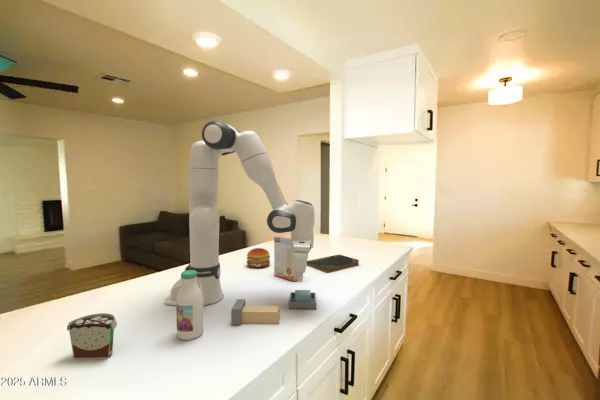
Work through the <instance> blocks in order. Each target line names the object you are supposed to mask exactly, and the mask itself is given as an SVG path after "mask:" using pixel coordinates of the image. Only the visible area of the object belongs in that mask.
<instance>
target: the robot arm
mask: <svg viewBox="0 0 600 400" xmlns="http://www.w3.org/2000/svg"><path fill="white" fill-rule="evenodd" d="M201 138H202V140H198V141H195V142H194V143H193V144H192V145H191V148H190V152H189V153H190V154H189V161H188V162H189V165H188V167H189V170H188V175H189V177H188V183H189V184H188V187H189V188H188V190H189V191H188V194H189V195H188V197H189V198H188V199H189V200H188V201H189V203H188V204H189V207H188V208H189V209H188V210H189V211H188V212H189V213H188V216H189V218H188V222H189V254H190V255H189V260H190V263H188V265H187V266H186V267H185V268H184V270H183V271H187V270H195V271H197V279H196V282H197V285H198V287H199V289H200V291H201V293H202V301H203V307H204V306H207V305H211V304H212V305H213V304H215V303H218V302H219V301H221V300H223V299H224V294H223V290H222V285H221V278H220V277H221V263H220V260H219V259H220V258H219V257H220V256H219V254H220V252H219V250H220V249H219V247H220V245H219V242H220V240H219V239H220V238H219V237H220V214H219V212H218V195H219V159H220V157H221V156H226V155H230V154H233V153H235V154H236V155H237V157H238V159H239V161H240V163H241V166H242V169H243V170H244V172H245V174H246V175H247V177H248V178H249V180H251V181H252V182H253V183H255V184H257V185H258V186H259V187H260V188H261V189H262V190H263V191H264V193H265V195H266V197H267V199H268V202H269V204H270V206H271V209H272V211H270V212H269V214H268V216H267V217H266V218H267V219H266V224H267V227H268V228H269V230H270V231H272V232H273V233H277V234H283V233H290V236H291V247H292V250H293V251H294V264H295V272H297V274H298V280H297V282H298V283H302V282H303V277H304V273H306V271H307V261H308V259H309V258H308V257H309V253H310V252H311V250H312V249H313V248H314V240H315V238H314V237H315V236H314V235H315V234H314V227H315V220H316V219H315V207H314V206H313V204H312V203H311V202H309V201H307V200H306V201H305V200H302V199H301V200H300V199H296V200H294V201H292V202H291V203H288V202H287V201H286V199H285V197H284V194H283V192H282V190H281V188H280V185H279V183H278V182H277V178H276V174H275V170H274V167H273V164H272V161H271V158H270V155H269V153H268V151H267V149H266V147H265V145H264V142H263V141H262V140H261V137H260V136H259V135H258V133H256V132H255V131H253V130H245V131H242V132H240V131H239V130H238V129H237V128H236V127H234V126H232V125H231V124H229V123H225V122H223V121H220V120H211V121H208V122H207V123H206V124H205V125H204V126H203V127H202V131H201ZM181 285H182V280H181V278H179V279H178V280H176V282H175V283H174V284H173V285H172V287H171V290H170V294H169V295H167V296H166V297H165V299H164V305H166V306H174V307H175V306H176V301H177V295H178V292H179V290H180V288H181Z"/></svg>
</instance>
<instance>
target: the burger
mask: <svg viewBox="0 0 600 400" xmlns="http://www.w3.org/2000/svg"><path fill="white" fill-rule="evenodd" d="M270 258H271V256H270V252H269V251H268V249H265V248H261V247H257V248H253V249H251V250H249V251H248V252H247V254H246V260H247V261H246V264H247V266H248V267H250V268H256V269H257V268H258V269H260V268H261V269H262V268H265V267H267V266H269V265H270V264H271V260H270Z"/></svg>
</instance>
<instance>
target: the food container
mask: <svg viewBox="0 0 600 400" xmlns="http://www.w3.org/2000/svg"><path fill="white" fill-rule="evenodd" d="M117 326H118V323H117V320H116V317H115V316H114V315H113V314H111V313H107V312H106V313H103V312H102V313H101V312H100V313H94V314H87V315H85V316H81V317H78V318H75V319H73V320H71V321H69V322H68V324H67V326H66V331H68V332H69V337H70V338H69V339H70V343H71V344H70V345H71V349H72V350H71V351H72V356H73V359H75V360H78V359H80V360H82V359H84V360H85V359H87V360H88V359H89V360H90V359H111V356H112V355H113V349H114V348H113V347H114V333H115V329H116V327H117Z"/></svg>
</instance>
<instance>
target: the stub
mask: <svg viewBox="0 0 600 400" xmlns="http://www.w3.org/2000/svg"><path fill="white" fill-rule="evenodd" d="M294 292H295V302H311V293H312V292H311V289H295V291H294Z"/></svg>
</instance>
